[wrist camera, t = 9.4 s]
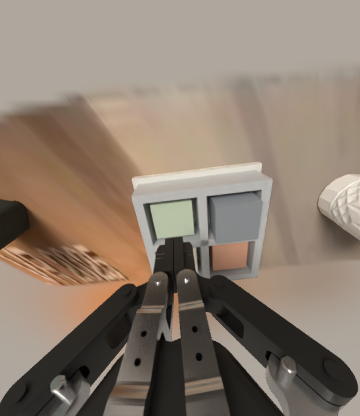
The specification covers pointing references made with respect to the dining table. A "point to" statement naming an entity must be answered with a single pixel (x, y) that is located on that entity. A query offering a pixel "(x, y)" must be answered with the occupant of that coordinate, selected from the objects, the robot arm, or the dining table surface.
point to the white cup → (343, 203)
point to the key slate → (235, 216)
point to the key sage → (173, 218)
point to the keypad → (202, 209)
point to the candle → (12, 221)
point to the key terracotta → (228, 256)
